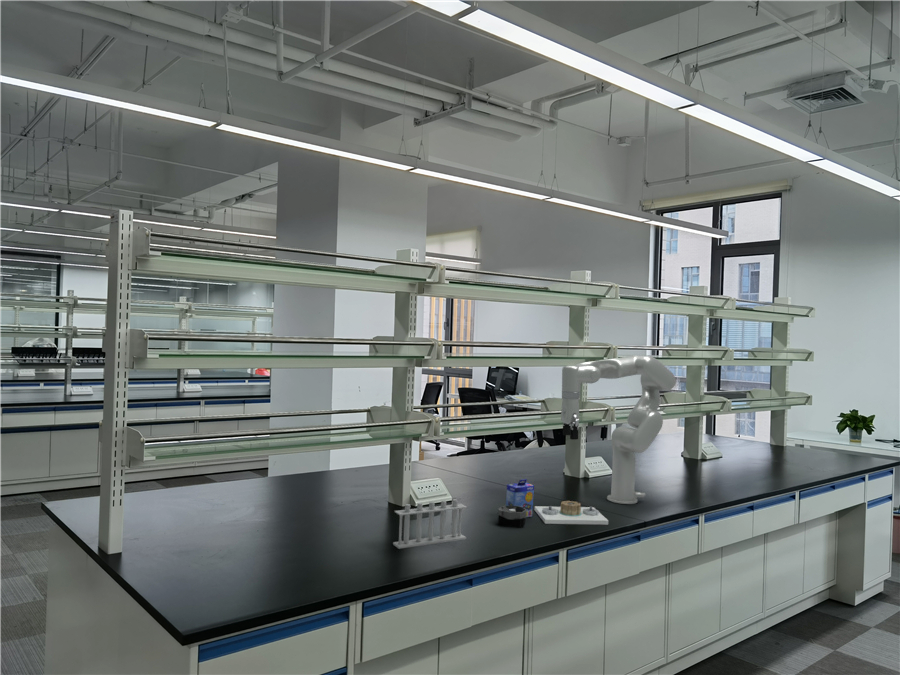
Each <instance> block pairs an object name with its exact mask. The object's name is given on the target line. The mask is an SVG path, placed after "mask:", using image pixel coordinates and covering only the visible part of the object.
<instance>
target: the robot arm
mask: <svg viewBox="0 0 900 675" xmlns="http://www.w3.org/2000/svg"><path fill="white" fill-rule="evenodd" d="M561 371H562V372H561V400H562V402H561V410H560V412H561V413H560V421H561V422H562V435H563V436H569V439H570V440H574V441H575V440H579V426H580V423H579V422H580V403H579V402H580V400H581V384H582V383H584V384H589V385H590V384H591V385H592V384H595V383H597V382H599V380H600V379H606V380H607V379H609V380H610V379H611V380H613V379H622V378H625V377H630V376H631V377H632V376H636V375H640V379H639V380H640V386H641V391H642V392H641V396H640V397H639V399H638V401H637V402H636V404H635V405H634V407H633V408H632V409H631V411H630V412H629V414H628V416H627V424H628V425H629V426H630V427H629V426H619V427H616V428H615V429H614V430H612V433H611V435H610V436H611V437H610V439H611V440H610V441H611V447H612V464H611V465H612V466H611V467H612V468H611V487H610V488H611V490H610V494H608V495H607V497H606V499H607V500H608V501H609V502H611V503H615V504H622V505H634V504H637V503H638V500H639V499H638V498H645V497H646V492H640V491H636V490H635V482H636V455H635V453H636V454H641V453H642V454H643V453H644V452H646V451H647V450H648V449H649V448H650V447H651V444H652V443H653V441H654V440H655V439H656V437H657V436H658V434H660V431H661V430H662V428H663V424H664V420H663V416H662V414H661V413H660V412H659V411H657V410H658V409H659V406H660V405H661V396H660V395H661V394H660V391H664V392H665V391H671V390H672V389H674V387H675V385H676V377H675V375H674V373H673V372H672V371H671V370H670V369H669V368H668V367H666V366H665V365H664V364H663V363H662V362H661V361H659V360H658V359H657V358H656V357H653V356H651V355H645V354H644V355H643V354H632V355H627V356H622V357H616V358H609V359H608V358H606V359H601V360H594V361H593V360H591V361H586V362H580V363H576V364H574V365H564V366H563V367H562V369H561Z"/></svg>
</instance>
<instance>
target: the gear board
mask: <svg viewBox="0 0 900 675" xmlns="http://www.w3.org/2000/svg"><path fill="white" fill-rule="evenodd" d="M569 504H573V503H569ZM560 509H561V506H552V505H549V506H545V505H543V506H541V505H540V506H537V505H536V506H534V512H536V514H537V515H538V517H539V518H540V519H541V520H542V522H543V523H544V524H546V525H547V524H548V525H551V524H553V525H607V526H608V525H609V519H608V518H606V517H605V516H604V515H603V514H602V513H601V512H600V511H599V510H598V509H596V507H593V506H591V505H590V506H589V507H588V506H587V507H586V506H581V511H580V515H574V516H572V515H565V514H563V513H561V512H560Z"/></svg>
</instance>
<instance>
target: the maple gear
mask: <svg viewBox="0 0 900 675" xmlns="http://www.w3.org/2000/svg"><path fill="white" fill-rule="evenodd" d="M560 502H561V503H560V507H561V509H560V512H561V513H563V514H565V515H572V516H574V515H580V511H581V507H582V504H581V502H578V501H573V500H571V501H570V500H564V501H563V500H562V501H560ZM569 503H573V504H569Z"/></svg>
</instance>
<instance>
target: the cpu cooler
mask: <svg viewBox="0 0 900 675" xmlns="http://www.w3.org/2000/svg"><path fill="white" fill-rule="evenodd" d="M526 512H527V510H526V509H525V508H523V507H520V506H512V505H507V506H506V505H502V506H500V507H498V509H497V514H498V516H497V518H498V519H497V520H498V522H497V525H498V526H502V527H509V528H510V527H511V528H518V529H519V528H524V526H525V523H526V518H527V517H526Z"/></svg>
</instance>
